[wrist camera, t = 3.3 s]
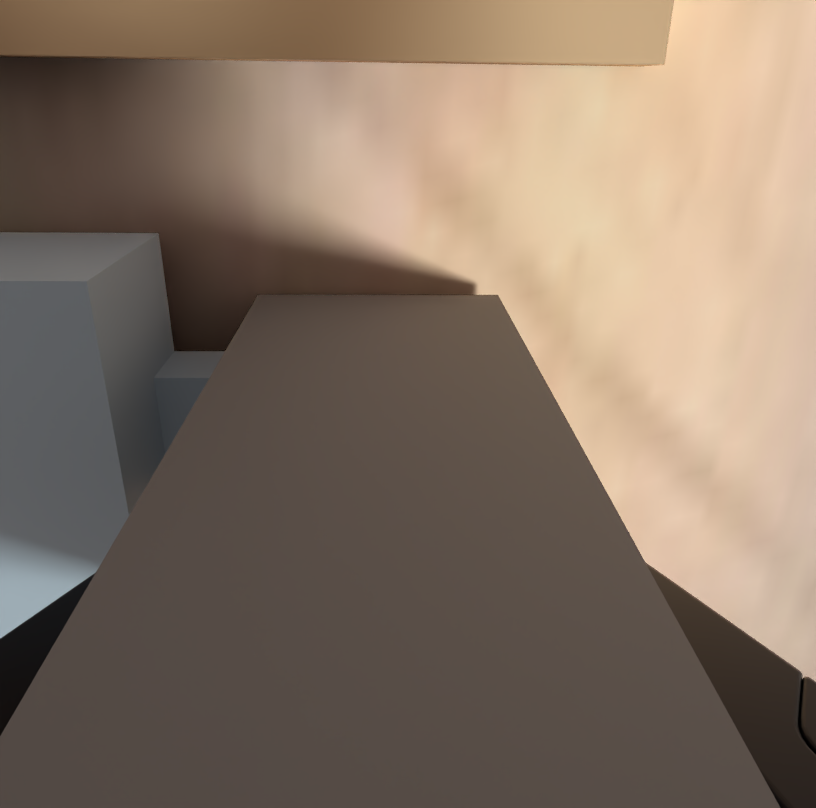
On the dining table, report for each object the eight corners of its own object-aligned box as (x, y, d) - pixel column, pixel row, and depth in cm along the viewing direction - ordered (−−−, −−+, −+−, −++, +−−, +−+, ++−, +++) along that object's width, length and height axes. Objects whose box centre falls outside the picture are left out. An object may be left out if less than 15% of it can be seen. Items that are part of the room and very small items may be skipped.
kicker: (502, 235, 11) (851, 676, 3) (481, 541, 14) (637, 1256, 5) (-34, 232, 11) (-1385, 714, 3) (43, 546, 14) (-516, 1311, 5)
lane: (653, -26, 10) (679, -37, 9) (558, 668, 16) (569, 705, 15) (-851, -55, 9) (-983, -70, 9) (-392, 685, 15) (-442, 724, 14)
